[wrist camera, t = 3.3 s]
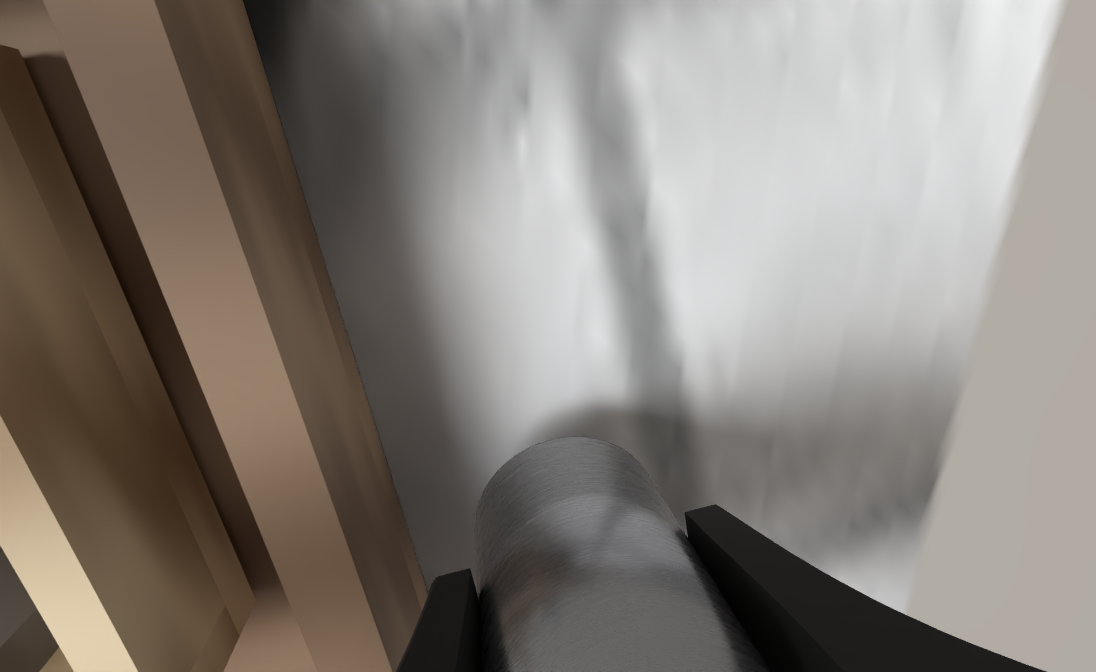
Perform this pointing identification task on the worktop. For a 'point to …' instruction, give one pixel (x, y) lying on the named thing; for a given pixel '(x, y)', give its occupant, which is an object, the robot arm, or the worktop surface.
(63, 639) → the crate
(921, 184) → the worktop surface
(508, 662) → the peg
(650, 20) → the worktop surface
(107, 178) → the bay
